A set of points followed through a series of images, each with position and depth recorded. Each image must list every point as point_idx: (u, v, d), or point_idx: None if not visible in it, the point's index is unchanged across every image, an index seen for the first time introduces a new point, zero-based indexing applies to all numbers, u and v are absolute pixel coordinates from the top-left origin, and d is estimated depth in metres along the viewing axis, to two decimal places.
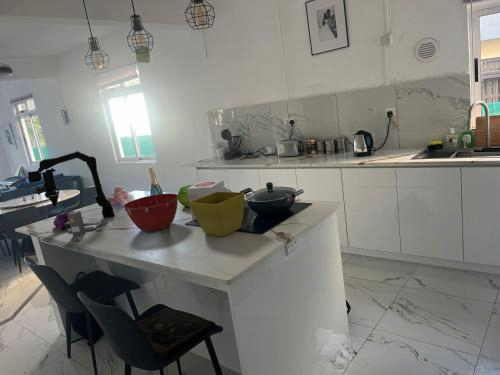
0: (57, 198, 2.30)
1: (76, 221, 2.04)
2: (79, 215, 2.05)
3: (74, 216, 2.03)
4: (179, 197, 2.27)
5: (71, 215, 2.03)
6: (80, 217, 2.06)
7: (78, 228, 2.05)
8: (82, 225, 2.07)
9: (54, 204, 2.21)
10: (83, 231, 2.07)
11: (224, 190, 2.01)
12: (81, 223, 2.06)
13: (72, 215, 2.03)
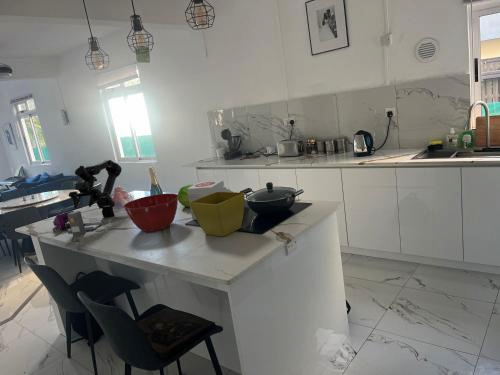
0: (77, 204, 2.17)
1: (76, 221, 2.04)
2: (79, 215, 2.05)
3: (74, 216, 2.03)
4: (179, 197, 2.27)
5: (71, 215, 2.03)
6: (80, 217, 2.06)
7: (78, 228, 2.05)
8: (82, 225, 2.07)
9: (90, 204, 2.13)
10: (83, 231, 2.07)
11: (224, 190, 2.01)
12: (81, 223, 2.06)
13: (72, 215, 2.03)
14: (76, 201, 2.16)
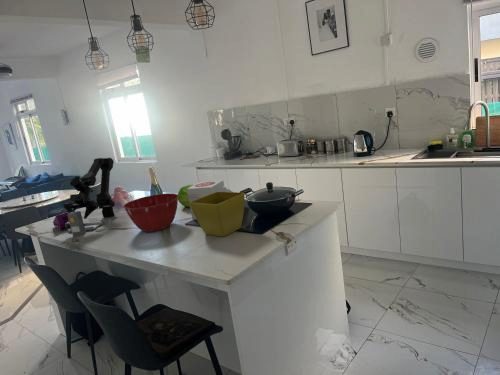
0: None
1: (76, 221, 2.04)
2: (79, 215, 2.05)
3: (74, 216, 2.03)
4: (179, 197, 2.27)
5: (71, 215, 2.03)
6: (80, 217, 2.06)
7: (78, 228, 2.05)
8: (82, 225, 2.07)
9: (86, 216, 2.07)
10: (83, 231, 2.07)
11: (224, 190, 2.01)
12: (81, 223, 2.06)
13: (72, 215, 2.03)
14: None
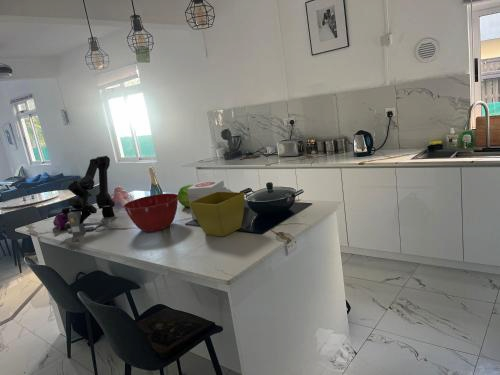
0: None
1: (76, 221, 2.04)
2: (79, 215, 2.05)
3: (74, 216, 2.03)
4: (179, 197, 2.27)
5: (71, 215, 2.03)
6: (80, 217, 2.06)
7: (78, 228, 2.05)
8: (82, 225, 2.07)
9: (82, 221, 2.06)
10: (83, 231, 2.07)
11: (224, 190, 2.01)
12: None
13: (72, 215, 2.03)
14: None
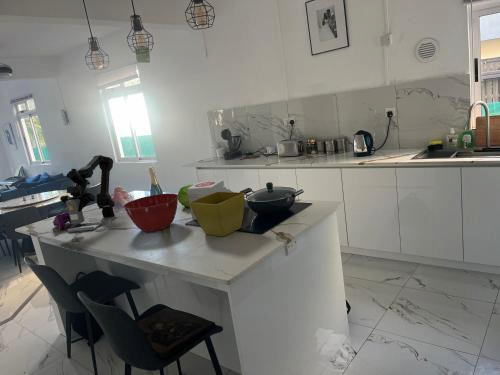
0: None
1: (74, 209, 2.04)
2: (77, 203, 2.05)
3: (72, 204, 2.03)
4: (179, 197, 2.27)
5: (69, 203, 2.03)
6: (78, 205, 2.05)
7: (76, 216, 2.05)
8: (81, 213, 2.07)
9: (80, 209, 2.06)
10: (82, 219, 2.07)
11: (224, 190, 2.01)
12: (80, 211, 2.06)
13: (70, 203, 2.03)
14: None
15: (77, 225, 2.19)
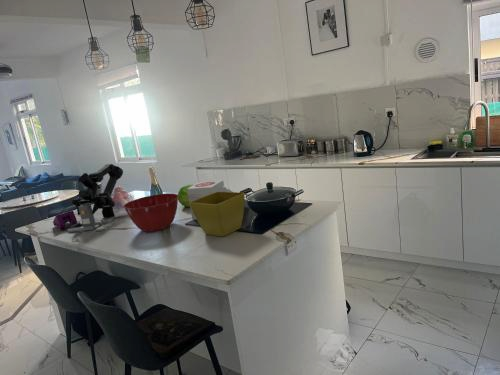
0: None
1: (87, 213, 2.14)
2: (89, 208, 2.15)
3: (85, 209, 2.13)
4: (179, 197, 2.27)
5: (82, 208, 2.13)
6: (90, 210, 2.15)
7: (88, 220, 2.14)
8: (92, 217, 2.17)
9: (94, 211, 2.15)
10: (93, 223, 2.17)
11: (224, 190, 2.01)
12: (91, 215, 2.16)
13: (83, 208, 2.13)
14: None
15: (77, 225, 2.19)
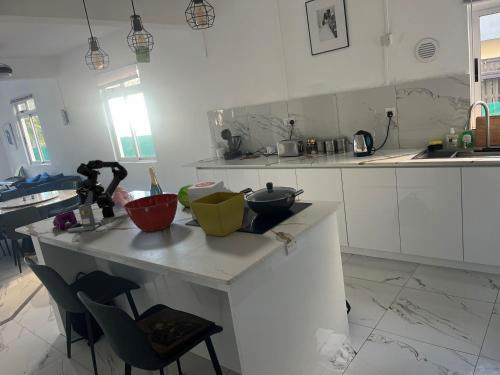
0: (85, 200, 2.26)
1: (87, 213, 2.14)
2: (89, 208, 2.15)
3: (85, 209, 2.13)
4: (179, 197, 2.27)
5: (82, 208, 2.13)
6: (90, 210, 2.15)
7: (88, 220, 2.14)
8: (92, 217, 2.17)
9: (94, 201, 2.20)
10: (93, 223, 2.17)
11: (224, 190, 2.01)
12: (91, 215, 2.16)
13: (83, 208, 2.13)
14: (83, 197, 2.25)
15: (77, 225, 2.19)
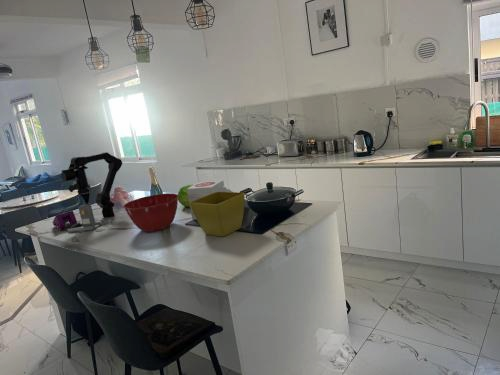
0: (88, 195, 2.31)
1: (87, 213, 2.14)
2: (89, 208, 2.15)
3: (85, 209, 2.13)
4: (179, 197, 2.27)
5: (82, 208, 2.13)
6: (90, 210, 2.15)
7: (88, 220, 2.14)
8: (92, 217, 2.17)
9: (86, 201, 2.22)
10: (93, 223, 2.17)
11: (224, 190, 2.01)
12: (91, 215, 2.16)
13: (83, 208, 2.13)
14: None
15: (77, 225, 2.19)
